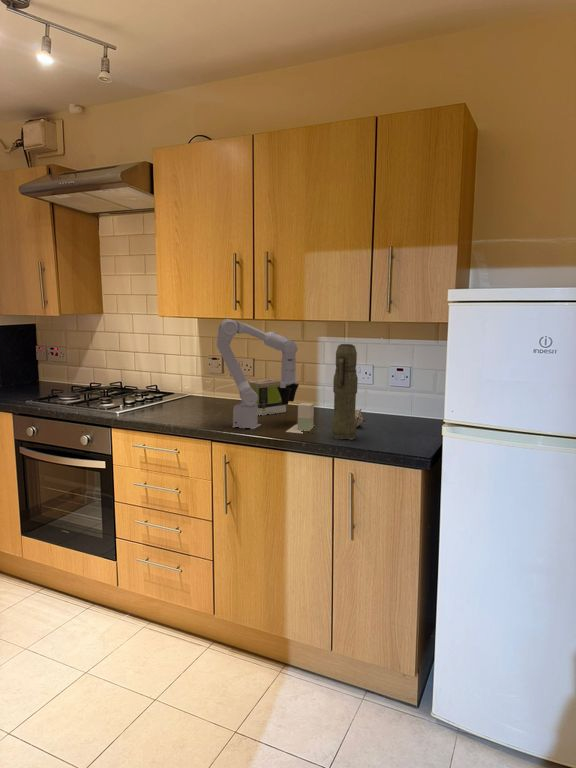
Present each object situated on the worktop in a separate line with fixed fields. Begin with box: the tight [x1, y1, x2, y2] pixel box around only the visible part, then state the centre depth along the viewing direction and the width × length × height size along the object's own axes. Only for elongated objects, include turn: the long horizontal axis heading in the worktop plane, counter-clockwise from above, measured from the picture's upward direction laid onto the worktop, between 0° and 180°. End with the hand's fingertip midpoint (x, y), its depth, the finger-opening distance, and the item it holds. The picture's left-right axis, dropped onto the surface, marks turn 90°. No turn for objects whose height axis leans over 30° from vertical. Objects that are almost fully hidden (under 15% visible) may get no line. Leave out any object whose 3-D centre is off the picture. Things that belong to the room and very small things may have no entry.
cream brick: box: [297, 402, 315, 419], centre depth 211 cm, size 5×5×5 cm
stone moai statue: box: [331, 343, 359, 439], centre depth 198 cm, size 9×12×35 cm
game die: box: [355, 408, 366, 428], centre depth 217 cm, size 9×8×10 cm
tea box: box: [247, 378, 287, 417], centre depth 243 cm, size 15×10×15 cm
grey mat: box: [285, 423, 303, 434], centre depth 212 cm, size 12×14×1 cm
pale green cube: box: [297, 416, 314, 431], centre depth 212 cm, size 5×5×5 cm
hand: (288, 402), depth 218 cm, fingers open, 7 cm apart
